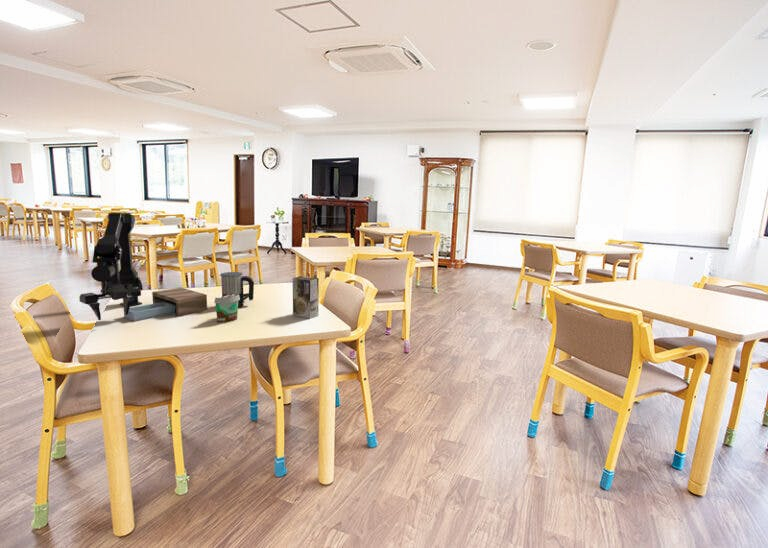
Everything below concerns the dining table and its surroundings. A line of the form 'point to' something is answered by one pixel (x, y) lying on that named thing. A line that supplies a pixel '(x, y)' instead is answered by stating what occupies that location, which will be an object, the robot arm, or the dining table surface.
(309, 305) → the coffee box
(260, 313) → the dining table surface
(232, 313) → the food container
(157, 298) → the walnut overhang
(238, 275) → the milk frother
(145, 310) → the blue-gray rectangular tray
